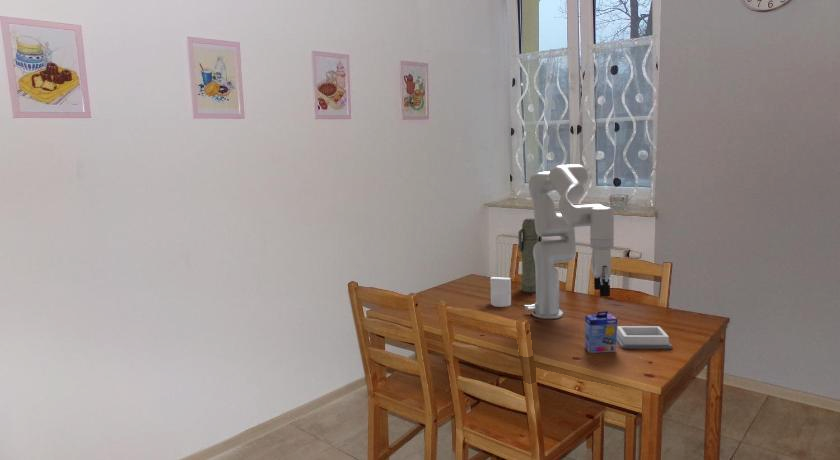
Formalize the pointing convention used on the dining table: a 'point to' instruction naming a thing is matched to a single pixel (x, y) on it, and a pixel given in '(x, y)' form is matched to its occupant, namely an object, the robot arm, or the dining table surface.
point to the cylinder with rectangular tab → (500, 291)
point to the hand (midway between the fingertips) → (601, 292)
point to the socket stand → (642, 337)
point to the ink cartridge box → (600, 332)
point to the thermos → (528, 254)
